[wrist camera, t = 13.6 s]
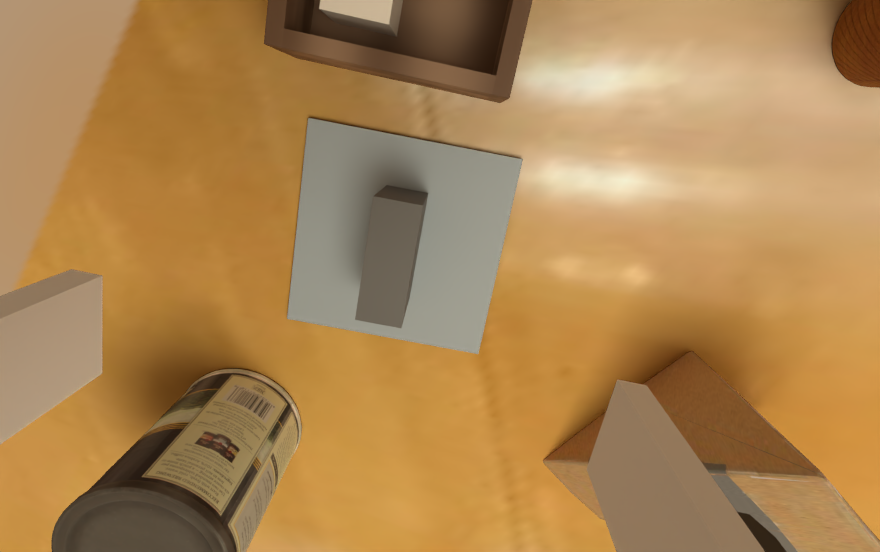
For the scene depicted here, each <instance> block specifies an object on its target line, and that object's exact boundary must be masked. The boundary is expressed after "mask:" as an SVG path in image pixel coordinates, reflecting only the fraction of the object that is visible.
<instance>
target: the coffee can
mask: <svg viewBox="0 0 880 552" xmlns="http://www.w3.org/2000/svg"><path fill="white" fill-rule="evenodd" d="M301 431H302V425H301V419H300V415H299V412H298V409H297V407H296V405H295V403H294V401H293V400H292V398H291V397H290V396H289V394H288V393H287V392H286V391H285V390H284V389H283V388H282V387H281V386H279V385H278V384H277V383H275V382H274V381H272V380H271V379H269V378H267V377H265V376H263V375H261V374H259V373H256V372H252V371H248V370H242V369H223V370H218V371H214V372H211V373H209V374H207V375H204V376H203V377H201V378H200V379H198V380H197V381H195V382H194V383H193V384H192V385H191V386H190V388H189V389H188V390H187V392H186V393H185V394H184V395H183V396H182V397H181V398H180V399H179V400H178V401H177V402H176V403H175V404H174V405H173V406H172V407H171V408H170V409H169V410H168V411H167V412H166V413H165V414H164V415H163V416H162V417H161V418H160V419H159V420H158V421H157V422H156V423H155V424H154V425H153V426H152V427H151V428H150V429H149V430H148V431H147V432H146V433H145V434H144V435H143V436H142V437H141V438H140V439H139V440H138V441H137V442H136V443H135V444H134V445H133V446H132V447H131V448H130V449H129V450H128V451H127V452H126V453H125V454H124V455H123V456H122V457H121V458H120V459H119V460H118V461H117V462H116V463H115V464H114V465H113V466H112V467H111V468H110V469H109V470H108V471H107V472H106V473H105V474H104V475H103V476H102V477H101V478H100V479H99V480H98V481H97V482H96V483H95V484H94V485H93V486H92V487H91V488H90V489H89V490H88V491H87V492H85V493H84V494H82V495H81V496H79V497H78V498H77V499H76V500H75V501H74V502H73V503H71V504H70V505H69V506H68V507H67V508H66V509H65V510H64V512H63V513H62V514H61V516H60V517H59V519H58V521H57V522H56V524H55V527H54V530H53V534H52V552H246V551H247V548H248V546H249V544H250V542H251V540H252V538H253V536H254V534H255V532H256V530H257V528H258V526H259V524H260V521H261V519H262V517H263V515H264V513H265V511H266V509H267V507H268V505H269V503H270V501H271V499H272V497H273V495H274V493H275V491H276V489H277V486H278V484H279V482H280V480H281V478H282V476H283V474H284V472H285V470H286V468H287V466H288V464H289V462H290V460H291V458H292V456H293V455H294V453H295V451H296V450H297V448H298V445H299V442H300V438H301Z"/></svg>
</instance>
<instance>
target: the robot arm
mask: <svg viewBox="0 0 880 552" xmlns="http://www.w3.org/2000/svg"><path fill="white" fill-rule="evenodd" d="M101 374H102V275H97V274H92V273H87V272H82V271H77V270H72V269H71V270H69V271H66V272H63V273H61V274H58V275H55V276H53V277H50V278H47V279H45V280H42V281H39V282H37V283H34V284H31V285H28V286H26V287H23V288H20V289H18V290H15V291H12V292H10V293H7V294H5V295H2V296H0V444H2V443H3V442H4V441H6V440H7V439H9V438H10V437H12V436H13V435H14V434H16V433H17V432H19V431H20V430H22V429H23V428H25V427H26V426H27V425H29V424H30V423H32V422H33V421H35V420H36V419H37V418H39V417H40V416H42V415H43V414H45V413H46V412H48V411H49V410H50V409H52V408H53V407H55V406H56V405H58V404H59V403H60V402H62V401H63V400H65V399H66V398H68V397H69V396H71V395H72V394H73V393H75V392H76V391H78V390H79V389H81V388H82V387H83V386H85V385H86V384H88V383H89V382H91V381H92V380H93V379H95V378H96V377H98V376H99V375H101ZM587 472H588V475H589V477H590V480H591V483H592V486H593V488H594V491H595V494H596V496H597V499H598V502H599V505H600V507H601V510H602V513H603V516H604V518H605V521H606V524H607V527H608V529H609V532H610V535H611V538H612V540H613V543H614V546H615V549H616V551H617V552H786V550H785V549H784V548H783V546H782V545H781V544H780V542H779V541H778V540H777V538H776V537H775V536H774V535H773V534H771V533H770V532H769V531H768V530H767V529H766V528H765V527H763V526H762V525H761V524H760V523H759V522H758V521H757V520H755V519H754V518H753V517H752V516H751V515H750V514H746V513H741V512H737V511H736V510H735V509H734V507H733V506H732V504H731V503H730V502H729V500H728V499H727V497H726V496H725V495H724V493H723V492H722V490H721V489H720V488H719V486H718V485H717V483H716V482H715V481H714V479H713V478H712V476H711V475H710V474H709V472H708V471H707V469H706V468H705V467H704V465H703V464H702V462H701V461H700V460H699V458H698V457H697V455H696V454H695V453H694V451H693V450H692V448H691V447H690V445H689V444H688V443H687V441H686V440H685V438H684V437H683V436H682V434H681V433H680V431H679V430H678V429H677V427H676V426H675V424H674V423H673V422H672V420H671V419H670V417H669V416H668V415H667V413H666V412H665V410H664V409H663V408H662V406H661V405H660V403H659V402H658V401H657V399H656V398H655V396H654V395H653V394H652V392H651V391H650V389H649V388H648V387H647V385H642V384H638V383H633V382H628V381H623V380H618V379H617V382H616V385H615V388H614V391H613V393H612V396H611V399H610V402H609V405H608V408H607V411H606V414H605V417H604V420H603V423H602V425H601V428H600V431H599V434H598V437H597V440H596V443H595V446H594V449H593V452H592V455H591V457H590V460H589V463H588V466H587Z"/></svg>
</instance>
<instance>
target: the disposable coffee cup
mask: <svg viewBox="0 0 880 552" xmlns="http://www.w3.org/2000/svg"><path fill="white" fill-rule="evenodd" d="M832 48H833V56H834V60H835V63H836V66H837V67H838V69H839V71H840V72H841V73H842V75H843V76H844V77H845V78H846V79H848V80H850V81H851V82H853V83H855V84H857V85H860V86H865V87H880V0H852V1H851V3H850V4H849V5H848V6H847V7H846V9H845V10H844V11H843V13H842V14H841V16H840V18H839V20H838V22H837V25H836V28H835V31H834V35H833V43H832Z"/></svg>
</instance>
